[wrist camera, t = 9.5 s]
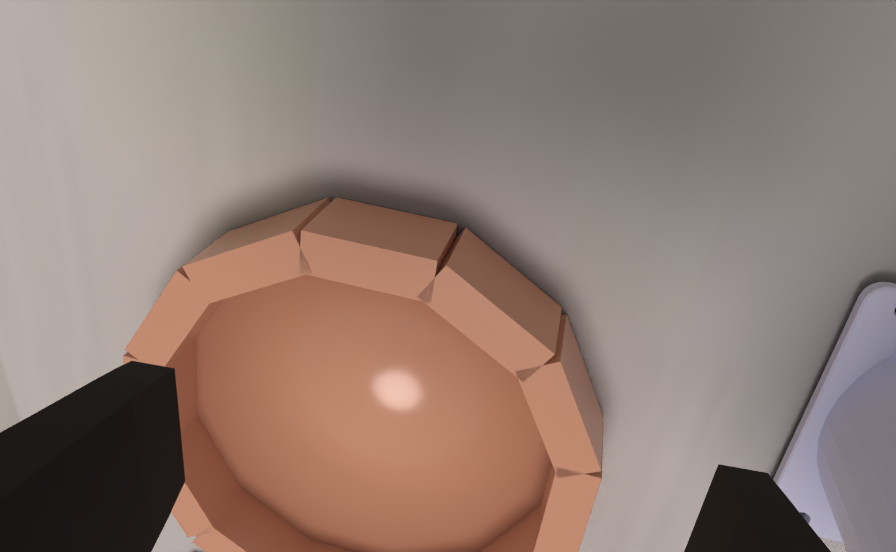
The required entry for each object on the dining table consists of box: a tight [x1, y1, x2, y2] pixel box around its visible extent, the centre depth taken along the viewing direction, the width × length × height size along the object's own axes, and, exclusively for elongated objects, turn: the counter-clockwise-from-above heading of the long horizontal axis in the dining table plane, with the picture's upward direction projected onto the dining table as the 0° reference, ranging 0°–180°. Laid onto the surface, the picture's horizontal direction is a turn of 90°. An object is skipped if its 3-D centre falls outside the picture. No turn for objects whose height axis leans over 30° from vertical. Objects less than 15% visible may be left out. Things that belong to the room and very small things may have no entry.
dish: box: [123, 197, 603, 552], centre depth 22 cm, size 14×14×2 cm
